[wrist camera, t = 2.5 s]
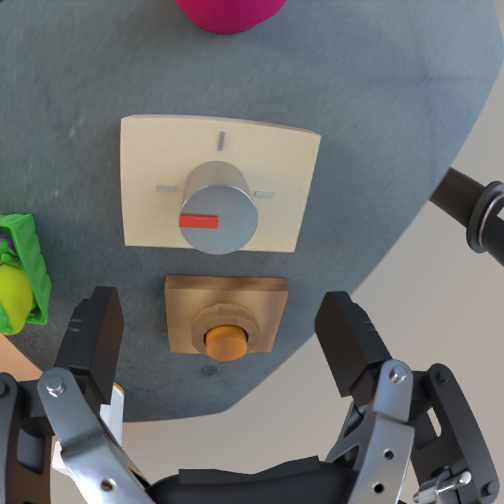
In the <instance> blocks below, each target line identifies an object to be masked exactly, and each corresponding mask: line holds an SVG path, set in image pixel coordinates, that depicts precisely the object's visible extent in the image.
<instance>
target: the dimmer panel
mask: <svg viewBox="0 0 504 504" xmlns="http://www.w3.org/2000/svg"><path fill="white" fill-rule="evenodd" d="M320 140H321V135H319V134H317V133H314V132H312V131H310V130H308V129H303V128H297V127H292V126H286V125H280V124H273V123H266V122H259V121H251V120H243V119H233V118H223V117H210V116H194V115H158V114H152V115H131V116H128V117H125V118H122V119H121V144H120V167H121V197H122V213H123V226H124V236H125V245H126V246H149V247H174V248H193V247H192V246H191V245H190V244H189V243H188V242H187V241H186V240H185V238H184V237H183V235H182V233H181V230H180V227H179V213H180V208H181V203H182V198H183V194H184V189H185V184H186V181H187V179H188V177H189V175H190V174H191V172H192V171H193V170H194V169H195V168H197V167H198V166H200V165H202V164H204V163H206V162H210V161H223V162H227V163H229V164H231V165H233V166H235V167H236V168H237V169H238V170H239V171H240V172H241V173H242V175H243V177H244V179H245V181H246V183H247V186H248V188H249V191H250V193H251V196H252V198H253V201H254V203H255V206H256V209H257V213H258V224H257V228H256V231H255V233H254V235H253V236H252V238H251V239H250V240H249V242H248V243H247V244H245V245H244V246H243V247H242V248H240V249H238V250H247V251H271V252H294V250H295V246H296V242H297V238H298V234H299V230H300V226H301V222H302V218H303V214H304V210H305V206H306V202H307V198H308V194H309V189H310V185H311V181H312V176H313V172H314V168H315V163H316V159H317V154H318V149H319V145H320Z"/></svg>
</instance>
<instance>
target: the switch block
mask: <svg viewBox="0 0 504 504" xmlns="http://www.w3.org/2000/svg"><path fill="white" fill-rule="evenodd" d="M288 295H289V289H288V286H287V284H286V281H285V279H284V278H256V277H216V276H187V275H167V276H166V282H165V303H166V314H167V325H168V334H169V343H170V351H171V353H195V354H203V355H206V356H209V355H208V353H207V349H206V335H207V333H208V331H209V330H210V329H211V328H213V327H216V326H219V325H236V326H238V327H240V328H241V329H243V331H244V332H245V337H246V342H247V351H246V353H245V354H247V353H266V352H271V349H272V346H273V343H274V340H275V337H276V334H277V330H278V327H279V324H280V321H281V318H282V314H283V311H284V308H285V305H286V301H287V298H288ZM209 357H210V356H209Z"/></svg>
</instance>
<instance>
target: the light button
mask: <svg viewBox="0 0 504 504" xmlns="http://www.w3.org/2000/svg"><path fill="white" fill-rule="evenodd" d="M206 349H207V353H208V355H209V356H210V357H211V358H213V359H215V360H219V361H232V360H236V359H238V358H240V357H242V356H243V355H244V354H245V353H246V351H247V342H246V337H245V332H244V331H243V329H241V328H240V327H238V326H236V325H219V326H216V327H213V328H211V329H210V330H209V331H208V333H207V335H206Z"/></svg>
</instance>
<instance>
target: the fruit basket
mask: <svg viewBox="0 0 504 504" xmlns="http://www.w3.org/2000/svg"><path fill="white" fill-rule="evenodd" d="M40 249H41V248H40V244H39V240H38V236H37V234H36V232H35V224H34V219H33V215H32V214H26V215H22V214H10V215H7V216H5V215H0V333H2V334H5V335H13V334H16V333H18V332H20V331H21V329H22V328H23V326H24V324H25V322H30V323H34V324H41V325H45V324H46V323H47V315H48V314H47V308H48V302H49V297H50V292H51V286H52V283H51V280H50V278H49V275H48V273H47V272H46V265H45V262H44V258H43V256H42V254H41V253H40V252H41V250H40Z"/></svg>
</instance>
